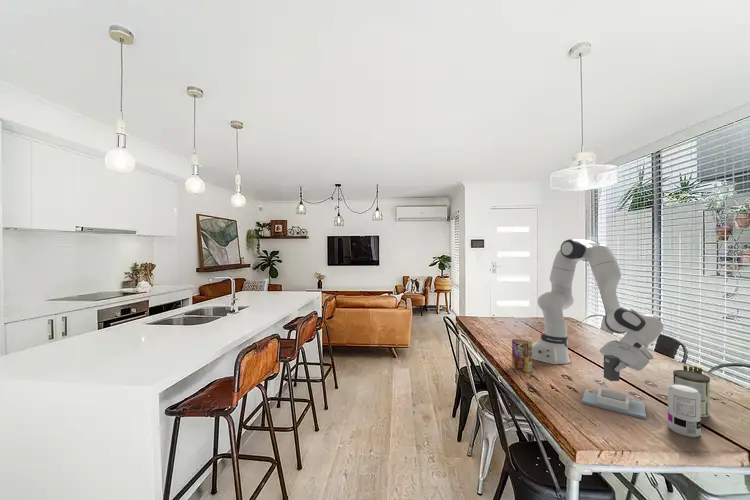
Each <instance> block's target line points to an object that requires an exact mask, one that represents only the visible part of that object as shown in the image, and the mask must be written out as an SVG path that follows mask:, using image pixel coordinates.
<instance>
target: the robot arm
mask: <svg viewBox="0 0 750 500" xmlns="http://www.w3.org/2000/svg"><path fill="white" fill-rule="evenodd" d="M579 261H582V262H583V261H586V262H587V261H588V263H589V266H590V269H591V272H592V274H593V278H594V280H595V282H596V284H597V288H598V290H599V294H600V297H601V298H600V299H601V301H602V304H603V308H604V313H605V317H604V324H605V327H606V328H607V330H609V331H610V332H612V333H614V334H617V335H618V334H620V335H623V334H624V336H623V337H621V338H620V339H619V340H617V339H615V340H610V341H608V342H606V344H604V345H603V346H601V347H600V348H599V353H600V354H601V355H602V356H603V357H604V355H613V356H616V357H618V358H619V360H620V365H618V366H614V367H613V370H614V371H616V372H619V371H621V370H624V369H626V368H627V367H629V368H630V369H633V370H635V371H638V372H639V371H642V370H643V369H644V368H645V367H647V365H648V364H649V362H650V360H652V359H654V355H653V354H652V353H651V351H649V350H648V348H649V346H650V344H652V343H654V342H655V341H656V340H657V339H658V338H659V336H660V335H661V334H662V332H663V331H664V325H663V322H662V321H661V320H660V319H659V318H658V317H656V316H655V315H652V314H646V313H642V312H639V311H636V310H634V309H633V308H630V307H624V306H623V307H622V306H621V305H620V302H619V299H618V296H617V287H618V285H619V282H620V280H621V277H622V274H621V268H620V266H619V263H618V260H617V259H616V256H615V255H614V253H613V251H612V250H611V248H610V247H609V246H608V245H606V244H601V243H599V242H598V241H595V240H589V239H585V238H582V239H581V238H580V239H579V238H578V239H576V238H570V239H566V240H564V241H562V243H561V245H560V249H559V250H558V251H557V252H556V255H555V257H554V259H553V263H552V267H551V271H550V274H549V275H550V276H549V282H550V283H551V284H550V285H551V291H547V292H544V293H543V294H541V295H540V296H539V297H538V298H537V305H538V307H539V309H541V311H542V315H543V320H544V331H542V333H541V334H540V339H539V340H537V341H535V342H534V343H532V360H535V361H539V362H543V363H547V364H550V365H565V364H570V363H571V360H570V357H569V349H568V346H569V338H568V337H569V336H568V322H567V320H566V319H565V316H564V312H563V310H567V309H569V308H570V307H571V306H573V304H574V297H573V292H572V291H573V288H572V286H573V280H574V275H575V272H576V266H577V264H578V263H579ZM602 365H604V362H603V364H602Z"/></svg>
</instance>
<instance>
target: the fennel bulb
mask: <svg viewBox="0 0 750 500" xmlns="http://www.w3.org/2000/svg"><path fill="white" fill-rule="evenodd" d="M682 367H683V369H682V370H687V371H692V372H697V373H700V374H702V373H703V368H702V367H698V366H696V365H693V366H692V365H689V366H688V365H686V364H685V365H684V364H683V365H682Z"/></svg>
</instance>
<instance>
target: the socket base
mask: <svg viewBox="0 0 750 500" xmlns="http://www.w3.org/2000/svg"><path fill="white" fill-rule="evenodd" d="M581 404H585V405H589V406H591V407H595V408H601V409H604V410H608V411H611V412H616V413H620V414H624V415H628V416H630V417H635V418H639V419H642V420H646V419H647V415H646V403H645V402H643V401H639V400H634V399H630V395H629V393H622V392H618V391H614V390H609V389H605V388H600V387H598V391H596V390H593V389H587V388H586V389H585V390H584V393H583V396H582V399H581Z"/></svg>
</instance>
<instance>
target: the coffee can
mask: <svg viewBox="0 0 750 500" xmlns="http://www.w3.org/2000/svg"><path fill="white" fill-rule="evenodd" d="M687 370H688V369H687ZM687 370H684V369H675V370H673V371H672V372H673V373H672V374H673V384H681V385H686V386H690V387H693V388H695V389H697V390H698V392H699V393H700V395H701V418H709V417H710V415H711V414H710V413H711V412H710V403H711V402H710V392H711V391H710V386H711V384H710V381H711V378H710V377H709V376H708V375H706V374H700V373H697V372H694V371H693V372H692V371H689V370H688V371H687Z"/></svg>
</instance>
